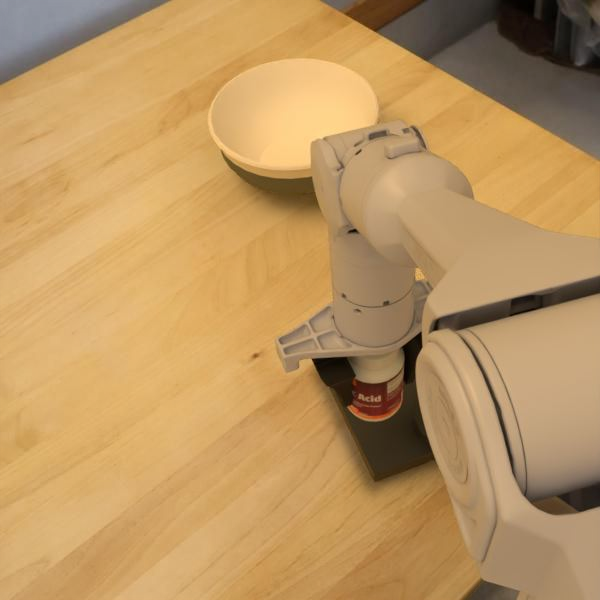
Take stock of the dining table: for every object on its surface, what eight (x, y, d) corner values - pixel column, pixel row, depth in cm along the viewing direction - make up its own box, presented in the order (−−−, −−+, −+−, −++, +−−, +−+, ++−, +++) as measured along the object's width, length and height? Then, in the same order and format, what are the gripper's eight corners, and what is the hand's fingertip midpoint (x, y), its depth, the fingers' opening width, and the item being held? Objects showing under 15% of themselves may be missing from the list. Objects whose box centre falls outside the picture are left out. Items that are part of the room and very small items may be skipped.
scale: (496, 447, 74) (499, 429, 72) (379, 492, 72) (379, 476, 70) (429, 336, 82) (431, 317, 80) (322, 374, 80) (321, 356, 78)
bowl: (382, 222, 92) (382, 165, 86) (210, 226, 93) (198, 170, 87) (378, 111, 104) (377, 53, 97) (225, 116, 105) (215, 60, 99)
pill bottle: (333, 406, 70) (328, 346, 63) (364, 365, 72) (362, 303, 66) (383, 433, 68) (383, 374, 61) (413, 390, 70) (417, 329, 64)
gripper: (443, 204, 62) (434, 319, 72) (253, 267, 59) (272, 376, 70) (490, 272, 57) (473, 383, 68) (288, 343, 55) (303, 447, 65)
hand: (374, 385), depth 68 cm, fingers closed on pill bottle, 5 cm apart
